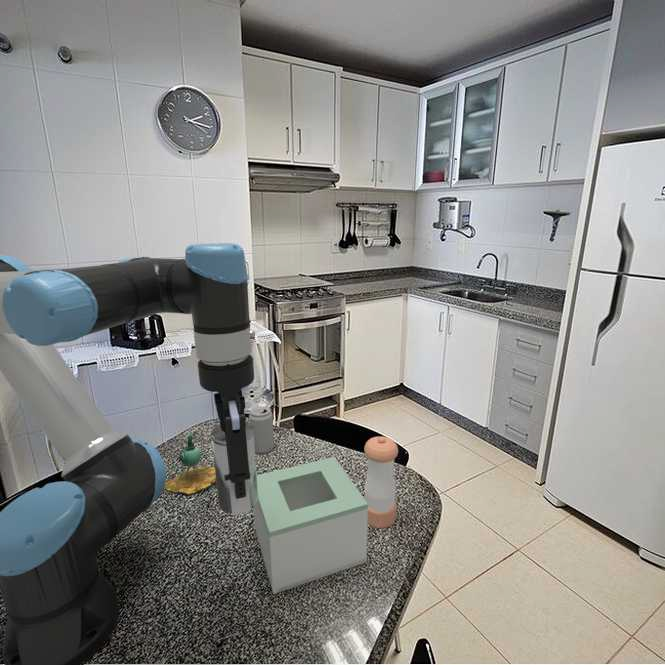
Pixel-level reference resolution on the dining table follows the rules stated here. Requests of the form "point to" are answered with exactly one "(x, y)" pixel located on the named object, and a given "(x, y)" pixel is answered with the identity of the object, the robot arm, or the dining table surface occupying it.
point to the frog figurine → (191, 471)
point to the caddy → (309, 523)
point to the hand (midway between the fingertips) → (238, 497)
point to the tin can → (223, 467)
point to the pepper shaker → (380, 481)
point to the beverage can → (262, 429)
